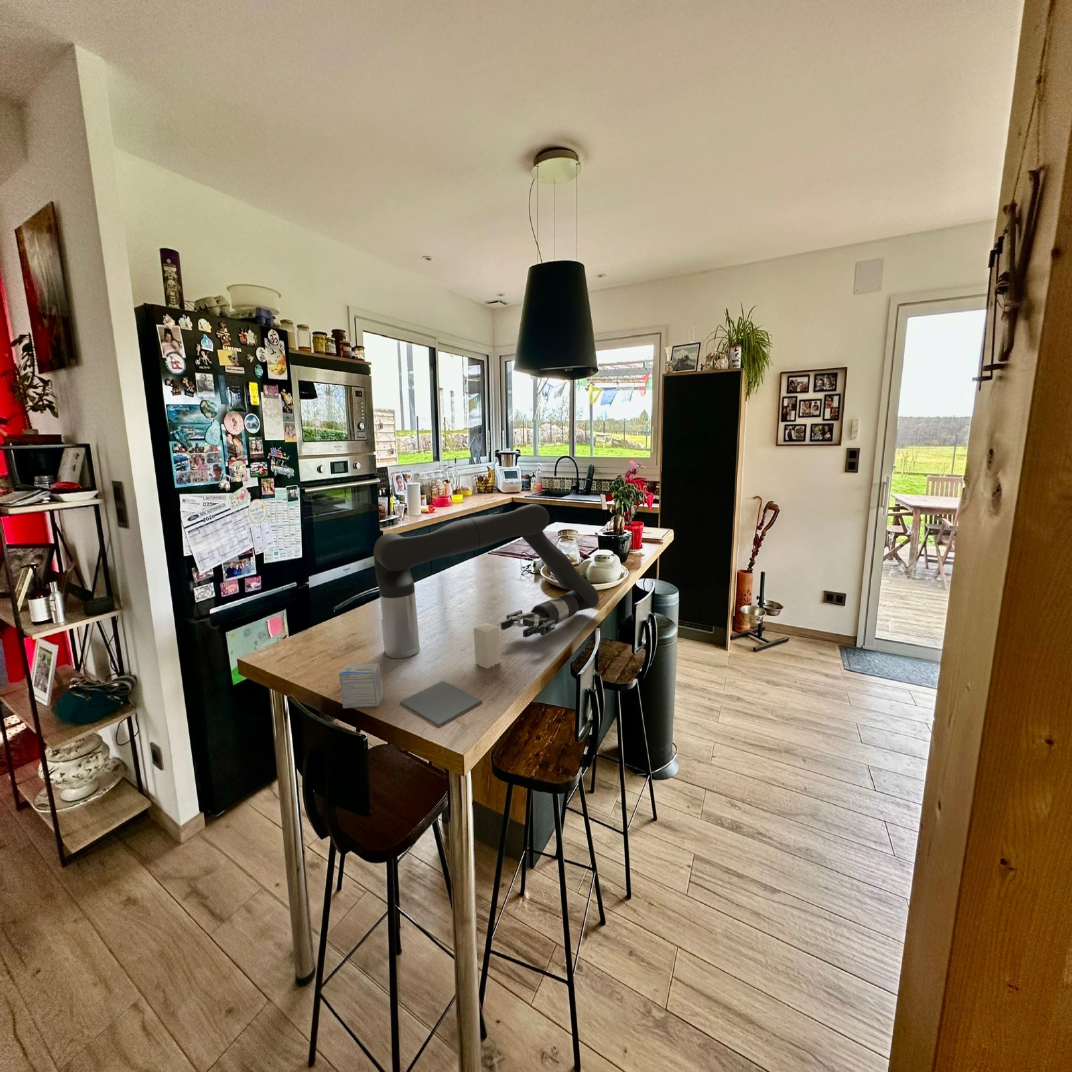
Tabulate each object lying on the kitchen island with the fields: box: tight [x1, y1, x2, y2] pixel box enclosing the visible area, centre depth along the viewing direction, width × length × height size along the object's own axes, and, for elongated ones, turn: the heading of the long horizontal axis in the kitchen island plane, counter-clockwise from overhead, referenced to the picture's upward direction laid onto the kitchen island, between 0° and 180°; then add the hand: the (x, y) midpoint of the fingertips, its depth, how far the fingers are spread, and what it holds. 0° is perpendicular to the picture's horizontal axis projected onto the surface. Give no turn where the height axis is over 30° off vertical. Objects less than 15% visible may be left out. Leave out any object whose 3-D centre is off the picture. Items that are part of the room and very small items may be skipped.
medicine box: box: [338, 662, 384, 709], centre depth 110 cm, size 8×4×9 cm, turn 92°
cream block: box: [473, 622, 501, 669], centre depth 127 cm, size 4×4×10 cm
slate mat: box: [399, 680, 483, 728], centre depth 109 cm, size 14×12×1 cm
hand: (512, 630), depth 134 cm, fingers open, 8 cm apart
